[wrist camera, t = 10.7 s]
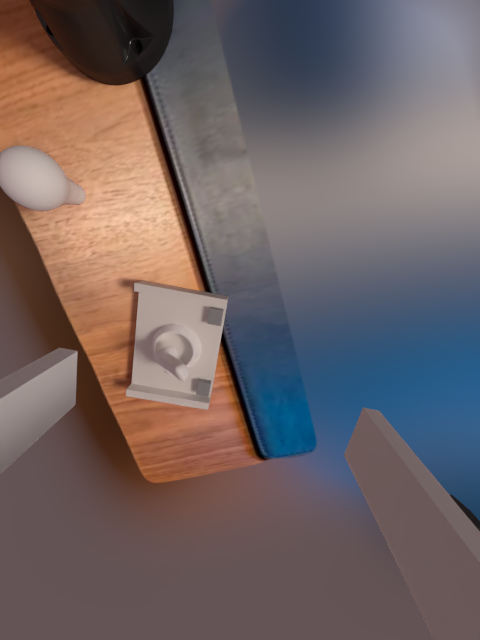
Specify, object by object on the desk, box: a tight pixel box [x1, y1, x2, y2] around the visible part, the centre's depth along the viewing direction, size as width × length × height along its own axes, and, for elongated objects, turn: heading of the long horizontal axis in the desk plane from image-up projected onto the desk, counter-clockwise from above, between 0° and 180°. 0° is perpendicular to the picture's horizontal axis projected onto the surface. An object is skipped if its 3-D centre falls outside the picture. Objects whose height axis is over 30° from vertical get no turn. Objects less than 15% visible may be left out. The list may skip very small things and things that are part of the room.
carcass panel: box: [126, 280, 228, 410], centre depth 39 cm, size 18×13×3 cm
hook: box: [152, 324, 201, 382], centre depth 36 cm, size 8×12×7 cm
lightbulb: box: [0, 146, 86, 211], centre depth 29 cm, size 6×6×11 cm
